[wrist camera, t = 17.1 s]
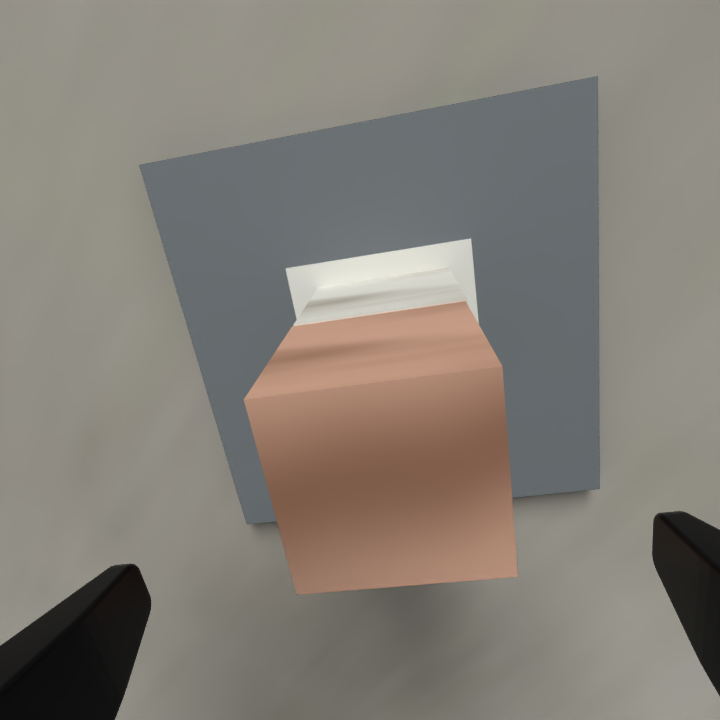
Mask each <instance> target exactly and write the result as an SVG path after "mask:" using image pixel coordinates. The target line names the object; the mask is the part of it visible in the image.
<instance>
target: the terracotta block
mask: <svg viewBox="0 0 720 720" xmlns="http://www.w3.org/2000/svg"><path fill="white" fill-rule="evenodd" d="M244 403H245V406H246V410H247V414H248V417H249V421H250V425H251V428H252V432H253V436H254V439H255V443H256V447H257V450H258V454H259V458H260V462H261V465H262V469H263V473H264V476H265V480H266V484H267V487H268V491H269V495H270V498H271V502H272V506H273V509H274V513H275V517H276V520H277V524H278V528H279V531H280V535H281V539H282V542H283V546H284V550H285V553H286V557H287V561H288V565H289V568H290V572H291V576H292V579H293V583H294V587H295V590H296V594H297V595H299V594H312V593H324V592H336V591H349V590H361V589H373V588H386V587H398V586H410V585H423V584H435V583H447V582H460V581H472V580H484V579H497V578H509V577H518V569H517V556H516V542H515V529H514V515H513V502H512V488H511V475H510V461H509V448H508V434H507V421H506V408H505V394H504V381H503V367H502V364H501V363H500V361H499V359H498V357H497V356H496V354H495V352H494V350H493V349H492V347H491V345H490V343H489V342H488V340H487V338H486V336H485V334H484V333H483V331H482V329H481V327H480V326H479V324H478V322H477V320H476V319H475V317H474V315H473V313H472V312H471V310H470V308H469V306H468V304H467V303H466V301H463V302H456V303H449V304H442V305H435V306H429V307H422V308H415V309H408V310H401V311H394V312H387V313H381V314H374V315H367V316H360V317H353V318H346V319H339V320H333V321H326V322H319V323H312V324H305V325H298V326H292V327H291V329H290V330H289V332H288V333H287V335H286V336H285V338H284V339H283V341H282V342H281V344H280V345H279V347H278V348H277V350H276V352H275V353H274V355H273V356H272V358H271V359H270V361H269V362H268V364H267V365H266V367H265V368H264V370H263V371H262V373H261V374H260V376H259V377H258V379H257V380H256V382H255V383H254V385H253V386H252V388H251V389H250V391H249V392H248V394H247V395H246V397H245V398H244Z"/></svg>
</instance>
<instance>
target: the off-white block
mask: <svg viewBox="0 0 720 720" xmlns="http://www.w3.org/2000/svg"><path fill="white" fill-rule="evenodd" d="M463 301H466V303H467V298H466V296H465V295H464V293H463V291H462V290H461V288H460V286H459V284H458V283H457V281H456V279H455V278H454V276H453V274H452V273H451V271H450V269H449V267H448V268H441V269H435V270H429V271H422V272H416V273H409V274H403V275H397V276H390V277H384V278H377V279H371V280H365V281H358V282H352V283H345V284H339V285H333V286H326V287H320V288H317V290H316V291H315V293H314V294H313V296H312V297H311V299H310V300H309V302H308V304H307V305H306V307H305V308H304V310H303V311H302V313H301V314H300V316H299V317H298V319H297V320H296V322H295V323H294V326H298V325H305V324H312V323H319V322H326V321H333V320H339V319H346V318H353V317H360V316H367V315H374V314H381V313H387V312H394V311H401V310H408V309H415V308H422V307H429V306H435V305H442V304H449V303H456V302H463ZM467 304H468V303H467Z"/></svg>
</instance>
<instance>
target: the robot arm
mask: <svg viewBox="0 0 720 720" xmlns="http://www.w3.org/2000/svg"><path fill="white" fill-rule="evenodd" d="M652 556H653V562H654V565H655V568H656V570H657V572H658V575H659V577H660V579H661V581H662V583H663V585H664V587H665V589H666V592H667V594H668V596H669V598H670V600H671V602H672V604H673V606H674V609H675V611H676V613H677V615H678V617H679V619H680V621H681V623H682V626H683V628H684V630H685V632H686V634H687V636H688V638H689V640H690V642H691V645H692V647H693V649H694V651H695V653H696V655H697V657H698V659H699V661H700V663H701V665H702V666H703V668H704V670H705V672H706V673H707V675H708V677H709V679H710V681H711V682H712V684H713V686H714V687H715V689H716V691H717V692H718V694H719V696H720V530H719V529H717V528H715V527H713V526H711V525H709V524H707V523H706V522H704V521H702V520H700V519H698V518H696V517H694V516H692V515H690V514H688V513H686V512H683V511H675V512H665V513H658V514H657V515H656V516H655V518H654V522H653V545H652ZM150 610H151V597H150V594H149V592H148V589H147V587H146V585H145V582H144V580H143V577H142V575H141V572H140V570H139V568H138V567H137V566H136V565H135V564H122V565H114V566H111V567H110V568H108V569H107V570H105V571H104V572H102V573H101V574H100V575H98V576H97V577H96V578H94V579H93V580H91V581H90V582H89V583H87V584H86V585H84V586H83V587H82V588H80V589H79V590H77V591H76V592H75V593H73V594H72V595H70V596H69V597H68V598H66V599H65V600H63V601H62V602H61V603H59V604H58V605H56V606H55V607H54V608H52V609H51V610H50V611H48V612H47V613H45V614H44V615H43V616H41V617H40V618H38V619H37V620H36V621H34V622H33V623H31V624H30V625H29V626H27V627H26V628H24V629H23V630H22V631H20V632H19V633H17V634H16V635H15V636H13V637H12V638H11V639H9V640H8V641H6V642H5V643H4V644H2V645H1V646H0V720H115V718H116V715H117V713H118V710H119V707H120V705H121V702H122V700H123V697H124V694H125V691H126V688H127V685H128V682H129V679H130V675H131V672H132V669H133V666H134V663H135V659H136V656H137V653H138V650H139V647H140V643H141V640H142V637H143V634H144V630H145V627H146V624H147V621H148V618H149V614H150Z"/></svg>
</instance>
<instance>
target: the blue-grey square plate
mask: <svg viewBox="0 0 720 720" xmlns="http://www.w3.org/2000/svg"><path fill="white" fill-rule="evenodd" d="M139 166H140V170H141V173H142V176H143V180H144V183H145V186H146V190H147V193H148V196H149V200H150V203H151V206H152V210H153V213H154V216H155V220H156V223H157V227H158V230H159V233H160V237H161V240H162V243H163V247H164V250H165V253H166V257H167V260H168V263H169V267H170V270H171V273H172V277H173V280H174V283H175V287H176V290H177V293H178V297H179V300H180V303H181V307H182V310H183V313H184V317H185V320H186V323H187V327H188V330H189V333H190V337H191V340H192V343H193V347H194V350H195V353H196V357H197V360H198V363H199V367H200V370H201V373H202V377H203V380H204V384H205V387H206V390H207V394H208V397H209V400H210V404H211V407H212V410H213V414H214V417H215V420H216V424H217V427H218V430H219V434H220V437H221V440H222V444H223V447H224V450H225V454H226V457H227V460H228V464H229V467H230V470H231V474H232V477H233V480H234V484H235V487H236V490H237V494H238V497H239V500H240V504H241V507H242V510H243V514H244V517H245V520H246V524H256V523H266V522H276V521H277V520H276V517H275V513H274V509H273V506H272V502H271V498H270V495H269V491H268V487H267V484H266V480H265V476H264V473H263V469H262V465H261V462H260V458H259V454H258V450H257V447H256V443H255V439H254V436H253V432H252V428H251V425H250V421H249V417H248V414H247V410H246V406H245V403H244V398H245V397H246V395H247V394H248V392H249V391H250V389H251V388H252V386H253V385H254V383H255V382H256V380H257V379H258V377H259V376H260V374H261V373H262V371H263V370H264V368H265V367H266V365H267V364H268V362H269V361H270V359H271V358H272V356H273V355H274V353H275V352H276V350H277V348H278V347H279V345H280V344H281V342H282V341H283V339H284V338H285V336H286V335H287V333H288V332H289V330H290V329H291V327H292V326H294V323H295V322H296V320H297V319H298V317H299V316H300V314H301V313H302V311H303V310H304V308H305V307H306V305H307V304H308V302H309V300H310V299H311V297H312V296H313V294H314V293H315V291H316V290H317V288H320V287H326V286H333V285H339V284H345V283H352V282H358V281H365V280H371V279H377V278H384V277H390V276H397V275H403V274H409V273H416V272H422V271H429V270H435V269H441V268H448V267H449V269H450V271H451V273H452V274H453V276H454V278H455V279H456V281H457V283H458V284H459V286H460V288H461V290H462V291H463V293H464V295H465V296H466V298H467V303H468V306H469V308H470V310H471V312H472V313H473V315H474V317H475V319H476V320H477V322H478V324H479V326H480V327H481V329H482V331H483V333H484V334H485V336H486V338H487V340H488V342H489V343H490V345H491V347H492V349H493V350H494V352H495V354H496V356H497V357H498V359H499V361H500V363H501V364H502V367H503V381H504V394H505V408H506V421H507V434H508V448H509V461H510V475H511V488H512V498H515V497H525V496H535V495H545V494H555V493H565V492H575V491H585V490H595V489H600V437H599V220H598V76H596V77H591V78H586V79H581V80H576V81H571V82H565V83H560V84H555V85H550V86H545V87H540V88H534V89H529V90H524V91H519V92H514V93H509V94H503V95H498V96H493V97H488V98H483V99H478V100H473V101H467V102H462V103H457V104H452V105H447V106H442V107H436V108H431V109H426V110H421V111H416V112H411V113H405V114H400V115H395V116H390V117H385V118H380V119H374V120H369V121H364V122H359V123H354V124H349V125H343V126H338V127H333V128H328V129H323V130H318V131H312V132H307V133H302V134H297V135H292V136H287V137H281V138H276V139H271V140H266V141H261V142H256V143H250V144H245V145H240V146H235V147H230V148H225V149H219V150H214V151H209V152H204V153H199V154H194V155H189V156H183V157H178V158H173V159H168V160H163V161H158V162H152V163H147V164H142V165H139Z"/></svg>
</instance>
